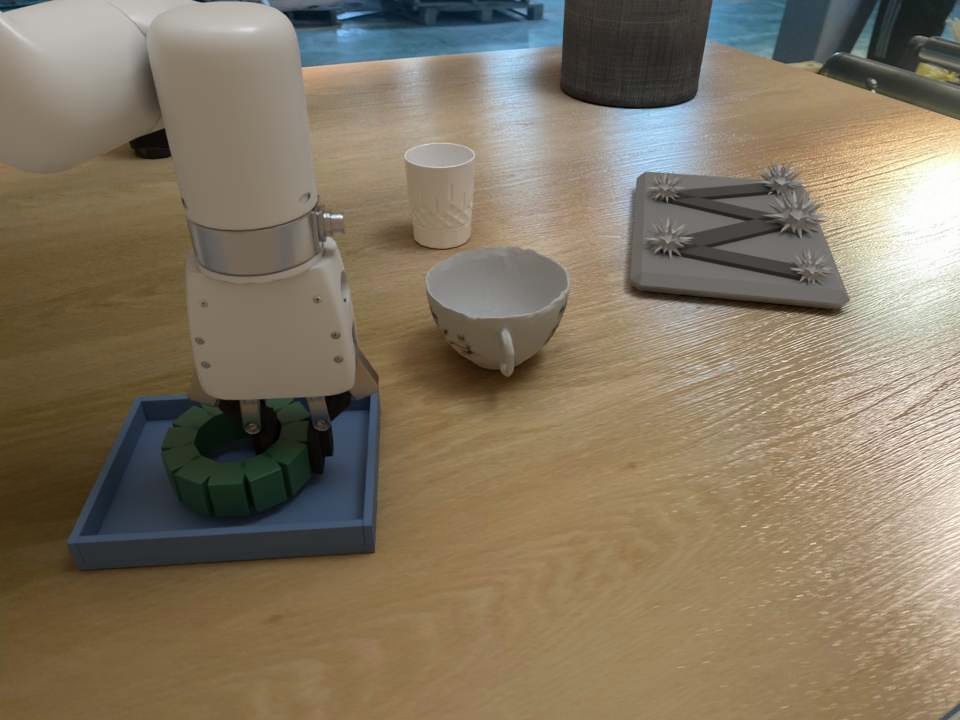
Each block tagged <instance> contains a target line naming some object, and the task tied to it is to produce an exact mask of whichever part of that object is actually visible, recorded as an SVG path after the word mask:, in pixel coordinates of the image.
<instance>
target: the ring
mask: <svg viewBox="0 0 960 720" xmlns="http://www.w3.org/2000/svg"><path fill="white" fill-rule="evenodd" d="M267 406H268V407H273V410H274V411H276V413H277V418H278V425H279V430H280V435H279V439H278V440H277V441H276V442H275V443H274V444H273V445H272V446H271V447H270V448H269V449H268V450H266V451H265V452H264V453H262V454H260V455H257V456H255V457H252V458H250V459H247V460H245V461H238V462H216V461H214V460H211V459H208V458H209V457H210V456H211V455H212V454H214V453H215V452H216V451H217V450H218V449H219V448H220V447H221V446H224V445H226V444H229V443H232V442H234V441H237V440H239V439H248V438H252V434H249V433H247V432H245V431H244V429H243V424H241V423H240V422H238V421H237V420H235V419H233V418H232V417H230V416H228V415H227V414H225V413H223V412H222V411H221V410H220V409H219V408H218V407H211V406H207V405H204V404H201V403H200V407H201V408H199V407H196V406H192V407H191V408H190V409H189V410H187V411H186V412H185V413H184V414H182V415H181V416H180V417H179V418H177V419H176V420H175V421H174V422H172V425H173V427H169V428H168V430H167V433H166V435H165V438H164V440H163V443H162V446H161V450H162V452H161V456H162V459H163V462H164V465H165V469H166V472H167V475H168V478H169V481H170V484H171V486H172V488H173V490H174V492H175V494H176V496H177V498H178V500H179V501H180V502H182V501H183V504H184V506H186V507H188V508H191V509H193V510H196V511H198V512H201V513H203V514H205V515H208V516H210V515H211V514H212V513H213V512H214V511H215V514H216V517H225V516H242V515H249V514H250V510H251V506H253V508H254V509H255V511H256V512H257V513H259V512H261V511H263V510H266V509H268V508H270V507H272V506H275V505H277V504H279V503H282V502H284V501H286V500H287V495H286V494H289V495H292V496H294V495H295V494H296V493H297V492H298V491H299V490H300V488H301V487H302V486H303V485H304V484H305V483H306V482H307V481H308V480H309V479H310V478H311V477H312V473H311V471H312V465H311V459H310V452H309V446H308V440H307V429H308V422H309V416H310V414H309V413H308V412H307V411H306V409H305V408H304V407H303V406H302V404H301V403H300V402H299V401H297V402H295V399H294V398H275V399H267Z"/></svg>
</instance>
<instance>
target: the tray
mask: <svg viewBox="0 0 960 720" xmlns="http://www.w3.org/2000/svg"><path fill="white" fill-rule="evenodd" d="M380 398H381V397H380V389H379V386H378V391H377V392H376V393H374V394H371V395H369V396H367V397H365V398H363V399H360V400H358V401H356V400H355V401H353V402H351V404H350V405H349V406H348V407H347V408H346V409H345V410H344V411H343V412H342V413H341V414H339V415H338V416H337V417H336V418H335V419H334V420H333V421H332V422H331V426H332V433H333V441H334V451H333V457H325V464H324V472H323V474H315V473H313V471H311V473H312V477H311V478H310V479H309V480H308V481H307V482H306V483H305V484H304V485H303V486H302V487H301V488H300V490H299V491H298V492H297V493H296V494H295V495H294V496H292V495H289V494H286V495H287V500H286V501H284V502H282V503H279V504H277V505H275V506H272V507H270V508H268V509H266V510H263V511H261V512H259V513H257V512H256V511H255V509H254V508H253V506H251V510H250V514H249V515H242V516H225V517H216V514H215V511H214V512H213V513H212V514H211V515H210V516H208V515H205V514H203V513H201V512H198V511H196V510H193V509H191V508H188V507H186V506H184V504H183V501H182V502H180V501H179V500H178V498H177V496H176V494H175V492H174V490H173V488H172V486H171V484H170V481H169V478H168V475H167V472H166V469H165V465H164V462H163V459H162V456H161V452H162V450H161V446H162V443H163V440H164V438H165V435H166V433H167V430H168V428H169V427H173V425H172V422H174V421H175V420H176V419H177V418H179V417H180V416H181V415H182V414H184V413H185V412H186V411H187V410H189V409H190V408H191V407H192V406H196V407H199V408H201V407H200V403H197V402H194V401H191V400H190V399H189V398H188V397H187V394H172V395H167V394H166V395H149V396H135V397H134V400H133V401H132V403H131V406H130V408H129V410H128V412H127V414H126V416H125V418H124V420H123V423H122V425H121V427H120V429H119V431H118V433H117V435H116V437H115V440H114V442H113V444H112V446H111V448H110V450H109V453H108V454H107V457H106V458H105V461H104V463H103V464H102V467H101V469H100V471H99V474H98V476H97V478H96V480H95V482H94V484H93V486H92V488H91V491H90V493H89V494H88V496H87V499H86V501H85V502H84V505H83V507H82V510H81V512H80V514H79V516H78V518H77V520H76V522H75V524H74V526H73V527H72V528H73V529H72V531H71V533H70V534H69V537H68V539H67V541H66V546H67V548H68V550H69V553H70V555H71V557H72V559H73V562H74V564H75V566H76V568H77V570H78V571H88V570H89V571H90V570H106V569H107V570H108V569H121V568H122V569H123V568H138V567H139V568H140V567H155V566H167V565H168V566H169V565H171V566H172V565H185V564H203V563H220V562H234V561H236V562H237V561H250V560H267V559H282V558H283V559H284V558H300V557H314V556H316V557H317V556H331V555H346V554H347V555H349V554H362V553H363V554H365V553H375V552H376V535H377V510H378V508H377V507H378V490H379V489H378V486H379V485H378V483H379V464H380V463H379V461H380V441H381V440H380V439H381V438H380V437H381V433H380V432H381V416H382V415H381V413H382V410H381V409H382V407H381V399H380ZM294 399H295V402H297V401H299V402H300V403H301V404H302V406H303V407H304V408H305V409H306V411H307V412H308V413H309V414H310V411H309V407H308V403H307V399H306V397H297V398H294ZM255 456H256V452H255V448H254V443H253V438H248V439H239V440H237V441H234V442H232V443H229V444H226V445H224V446H221V447H220V448H219V449H218V450H217V451H216V452H215V453H214V454H212V455H211V456H210V457H209V458H208V459H211V460H214V461H216V462H238V461H245V460H247V459H250V458H252V457H255Z"/></svg>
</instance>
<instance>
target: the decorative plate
mask: <svg viewBox="0 0 960 720" xmlns="http://www.w3.org/2000/svg"><path fill="white" fill-rule="evenodd" d="M792 163H793V161H791V162H790V161H788V162H787V164H786V161H784V162H783V164H782V165H780V163H778V165H777V163H776V161H775V160H774V162H773V161H771V167H770V166H768V169H769V170H768V169H766V168H765V167H762V169H763V171H764V172H757V175H759V176H760V177H762V179H756V178H743V177H742V178H741V177H730V176H729V177H728V176H715V175H714V176H713V175H699V174H686V173H675V172H674V171H672V172H666V171H665V172H662V171H659V172H657V171H644V172H643V173H642V174H640V175H639V176H637V177H636V179H635V180H636V181H635V193H634V194H635V197H634V210H633V227H632V228H633V229H632V241H631V259H630V271H629V272H630V273H629V282H630V283H631V285H633V286H634V287H635V289H636V290H638V291H640V292H650V293H661V294H670V295H682V296H691V297H692V296H693V297H701V298H702V297H704V298H713V299H724V300H734V301H745V302H753V303H755V302H756V303H764V304H765V303H766V304H767V303H768V304H775V305H787V306H797V307H799V306H800V307H808V308H809V307H810V308H819V309H830V310H837V309H839V308H840V307H842V306H844V305H846V304H848V303H850V301H851V298H850V296H849V293H848V291H847V289H846V286H845V284H844V281H843V279H842V276H841V273H840V271H839V268H838V266H837V264H836V261H835V259H834V256H833V253H832V250H831V249H830V246H829V244H828V241H827V239H826V235H825V234H824V231H823V228H822V225H821V223H828V222H829V221H827V220H822V219H823V218H825V215H826V213H819V212H818V213H817V212H816V211H817V210H818V209H820V208H821V207H822V206H823V204H824V203H825V202H824V201H822V202H821V203H818V202H819V201H820V200H821V199H822V198H823V197H822V196H821V197H819V198H817V199H815V197H814V196H813V198H811V199H810V196H811V195H810V194H811V193H812V192H811V191H812V189H810V190H809V192H808V189H805V188H806V187H805V186H804V185H803V183H805V180H794V179H796V178H798V177H799V175H802V171H800V172H798V173H796V172H797V171H799V170H800V169H801V168H802V167H800V166H799V168H797V169H795V168H793V169H792V170H790V169H791V167H792ZM781 166H782V167H781ZM814 199H815V200H814ZM816 203H818V204H816Z"/></svg>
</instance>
